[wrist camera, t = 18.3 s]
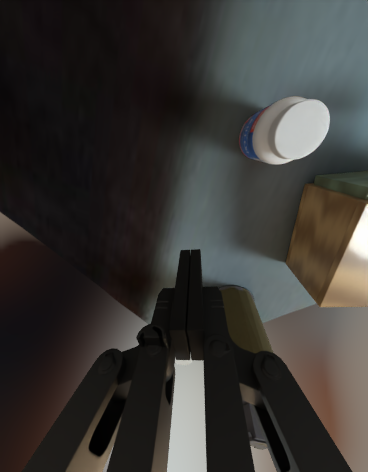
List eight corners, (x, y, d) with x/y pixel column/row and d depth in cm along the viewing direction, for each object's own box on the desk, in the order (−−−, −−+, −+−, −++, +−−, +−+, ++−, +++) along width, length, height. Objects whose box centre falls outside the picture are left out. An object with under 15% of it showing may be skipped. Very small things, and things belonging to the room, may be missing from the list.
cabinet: (304, 183, 23) (366, 203, 15) (403, 174, 22) (533, 191, 13) (285, 263, 30) (319, 307, 22) (359, 260, 29) (426, 306, 20)
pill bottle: (242, 110, 20) (278, 81, 11) (287, 111, 19) (358, 83, 11) (234, 159, 22) (258, 166, 14) (273, 161, 22) (322, 169, 14)
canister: (199, 307, 38) (201, 444, 20) (221, 278, 33) (250, 425, 15) (238, 321, 39) (272, 460, 22) (265, 296, 35) (336, 447, 17)
